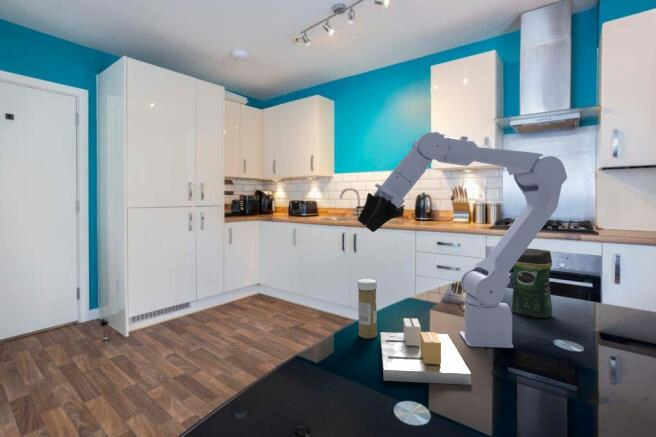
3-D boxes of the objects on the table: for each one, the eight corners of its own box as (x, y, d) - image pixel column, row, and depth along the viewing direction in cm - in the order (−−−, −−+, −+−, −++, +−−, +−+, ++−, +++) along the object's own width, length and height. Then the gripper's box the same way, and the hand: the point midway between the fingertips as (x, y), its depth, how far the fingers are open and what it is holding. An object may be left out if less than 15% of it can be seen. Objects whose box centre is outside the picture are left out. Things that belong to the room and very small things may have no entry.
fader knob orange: (435, 352, 67) (435, 331, 67) (441, 364, 63) (441, 341, 62) (420, 351, 68) (420, 331, 68) (424, 363, 63) (424, 341, 63)
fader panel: (447, 343, 77) (447, 333, 77) (470, 384, 60) (470, 372, 59) (380, 340, 79) (380, 331, 79) (383, 380, 61) (383, 368, 61)
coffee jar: (555, 315, 96) (556, 249, 95) (544, 321, 91) (545, 251, 90) (519, 307, 103) (519, 246, 102) (507, 312, 98) (507, 248, 97)
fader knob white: (417, 336, 76) (417, 317, 76) (420, 345, 71) (420, 325, 71) (403, 336, 76) (403, 317, 76) (405, 345, 71) (405, 325, 71)
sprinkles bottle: (381, 336, 82) (380, 280, 81) (366, 340, 79) (365, 283, 79) (368, 330, 86) (368, 277, 85) (354, 334, 83) (353, 279, 83)
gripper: (380, 167, 84) (345, 210, 84) (401, 169, 69) (359, 221, 70) (401, 185, 85) (366, 227, 86) (425, 190, 71) (384, 241, 72)
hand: (364, 226), depth 78 cm, fingers open, 7 cm apart
